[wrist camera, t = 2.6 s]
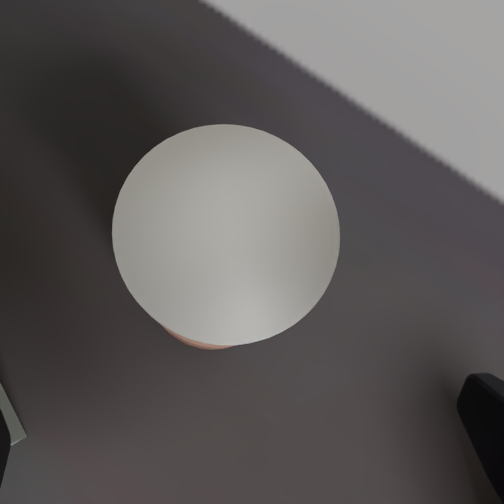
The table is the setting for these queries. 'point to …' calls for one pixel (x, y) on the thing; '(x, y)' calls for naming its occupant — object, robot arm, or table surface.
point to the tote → (11, 418)
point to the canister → (225, 235)
